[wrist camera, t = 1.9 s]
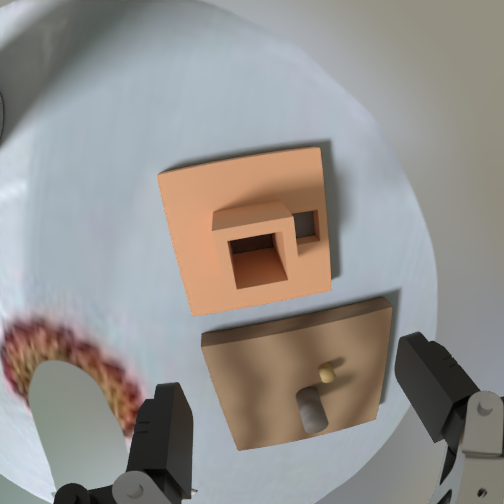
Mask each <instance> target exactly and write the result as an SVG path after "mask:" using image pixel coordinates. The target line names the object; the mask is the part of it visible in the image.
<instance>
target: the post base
mask: <svg viewBox="0 0 504 504" xmlns="http://www.w3.org/2000/svg"><path fill="white" fill-rule="evenodd" d="M392 309H393V307H392V305H391V304H390V303H389V302H388V301H387V300H386V299H385V297H380V298H376V299H372V300H368V301H364V302H360V303H356V304H352V305H347V306H343V307H339V308H334V309H330V310H326V311H321V312H317V313H312V314H307V315H303V316H298V317H293V318H288V319H283V320H278V321H273V322H268V323H262V324H257V325H251V326H246V327H240V328H234V329H229V330H223V331H217V332H210V333H204V334H202V336H201V349H202V352H203V355H204V358H205V361H206V364H207V367H208V370H209V373H210V376H211V379H212V382H213V385H214V388H215V391H216V393H217V396H218V399H219V402H220V405H221V407H222V410H223V413H224V416H225V418H226V421H227V424H228V426H229V429H230V431H231V434H232V437H233V439H234V442H235V444H236V447H237V449H238V451H241V450H248V449H254V448H261V447H267V446H272V445H278V444H283V443H288V442H293V441H298V440H302V439H307V438H311V437H315V436H319V435H323V434H327V433H331V432H335V431H339V430H342V429H346V428H349V427H353V426H356V425H359V424H363V423H366V422H369V421H372V420H375V419H376V416H377V412H378V407H379V402H380V396H381V391H382V385H383V379H384V373H385V367H386V360H387V353H388V345H389V337H390V329H391V319H392Z"/></svg>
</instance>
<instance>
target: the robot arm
mask: <svg viewBox="0 0 504 504" xmlns="http://www.w3.org/2000/svg"><path fill="white" fill-rule="evenodd" d="M2 127H3V103H2V98H1V95H0V136H1V132H2ZM395 376H396V379H397V381H398V383H399V384H400V386H401V388H402V389H403V391H404V393H405V394H406V396H407V398H408V399H409V401H410V403H411V404H412V406H413V408H414V409H415V411H416V413H417V414H418V416H419V418H420V419H421V421H422V423H423V424H424V426H425V428H426V430H427V431H428V433H429V435H430V436H431V438H432V440H433V442H434V443H436V442H438V441H440V440H442V439H445V441H446V442H447V445H446V447H445V451H444V456H443V460H442V464H441V469H440V473H439V476H438V480H437V484H436V487H435V490H434V493H433V495H432V497H431V499H430V501H429V503H428V504H503V499H504V397H499V396H498V395H497V394H495V393H493V392H490V391H480V389H479V388H478V387H477V386H476V385H475V383H474V382H473V381H472V380H471V378H470V377H469V376H468V375H467V374H466V372H465V371H464V370H463V369H462V367H461V366H460V365H458V363H457V361H456V360H455V359H454V358H452V357H451V354H450V353H449V352H448V351H447V350H446V348H445V347H444V346H442V345H440V344H438V343H437V342H435V341H430V342H428V340H427V339H426V338H425V337H424V336H423V334H422V333H420V332H415V333H412V334H409V335H406V336H403V337H400V339H399V342H398V349H397V355H396V361H395ZM192 449H193V415H192V411H191V408H190V406H189V404H188V402H187V399H186V397H185V395H184V393H183V390H182V388H181V386H180V384H179V383H178V382H175V383H165V384H157V386H156V390H155V395H154V399H146V400H145V401H144V403H143V404H142V405H141V407H140V408H139V410H138V414H137V418H136V424H135V428H134V434H133V438H132V443H131V448H130V454H129V459H128V465H127V469H126V472H125V473H123V474H122V475H120V476H119V477H118V478H117V479H116V480H115V482H114V484H113V485H110V486H106V487H102V488H97V489H92V490H87V489H85V488H84V487H83V486H82V485H79V484H76V483H70V484H66V485H64V486H62V487H61V488H60V489H59V490H58V491H57V493H56V495H55V498H54V503H53V504H181V500H182V499H191V488H192Z"/></svg>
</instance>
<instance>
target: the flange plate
mask: <svg viewBox="0 0 504 504" xmlns="http://www.w3.org/2000/svg"><path fill="white" fill-rule="evenodd" d="M157 180H158V184H159V189H160V193H161V198H162V202H163V206H164V211H165V215H166V219H167V223H168V227H169V231H170V235H171V239H172V243H173V247H174V251H175V255H176V259H177V262H178V266H179V270H180V274H181V277H182V281H183V284H184V288H185V292H186V295H187V299H188V302H189V305H190V309H191V312H192V316H199V315H205V314H211V313H217V312H223V311H229V310H235V309H240V308H246V307H251V306H257V305H262V304H267V303H273V302H278V301H283V300H288V299H293V298H298V297H303V296H308V295H313V294H317V293H322V292H327V291H331V269H330V251H329V236H328V223H327V210H326V199H325V188H324V178H323V169H322V160H321V151H320V147H315V146H312V147H304V148H296V149H288V150H281V151H274V152H267V153H261V154H254V155H248V156H242V157H236V158H230V159H225V160H219V161H214V162H208V163H203V164H198V165H193V166H188V167H183V168H179V169H174V170H169V171H165V172H160V173H159V174H158V175H157ZM312 210H313V217H314V227H315V235H312V236H307V237H301V238H296V234H295V225H294V217H293V215H292V214H294V213H300V212H306V211H312ZM269 233H272V239H273V246H274V247H271V248H265V249H260V250H254V251H249V252H243V253H238V254H233V253H232V248H231V243H230V240H236V239H241V238H247V237H252V236H258V235H264V234H269Z"/></svg>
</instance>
